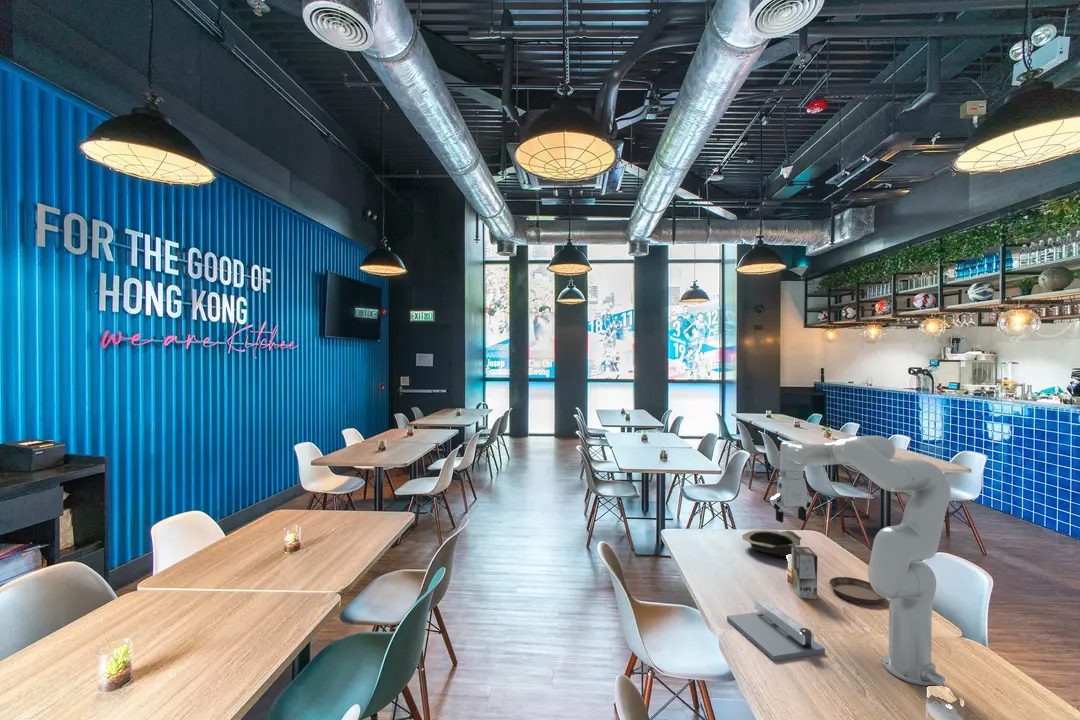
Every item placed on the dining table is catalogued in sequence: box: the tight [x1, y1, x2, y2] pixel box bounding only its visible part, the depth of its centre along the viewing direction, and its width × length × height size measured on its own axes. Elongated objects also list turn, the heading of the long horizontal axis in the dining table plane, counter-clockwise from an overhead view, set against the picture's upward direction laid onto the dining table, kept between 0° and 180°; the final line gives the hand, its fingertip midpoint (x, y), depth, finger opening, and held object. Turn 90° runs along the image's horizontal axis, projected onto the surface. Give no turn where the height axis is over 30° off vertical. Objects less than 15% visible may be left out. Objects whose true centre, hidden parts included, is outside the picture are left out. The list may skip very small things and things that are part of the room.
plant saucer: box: [828, 576, 885, 605], centre depth 177 cm, size 18×18×3 cm
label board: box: [726, 611, 826, 662], centre depth 149 cm, size 22×18×2 cm
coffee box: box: [791, 546, 819, 600], centre depth 178 cm, size 9×6×16 cm
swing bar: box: [754, 599, 815, 648], centre depth 150 cm, size 22×4×4 cm, turn 13°
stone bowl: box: [741, 529, 802, 561], centre depth 216 cm, size 25×25×9 cm
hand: (790, 520), depth 173 cm, fingers open, 9 cm apart
